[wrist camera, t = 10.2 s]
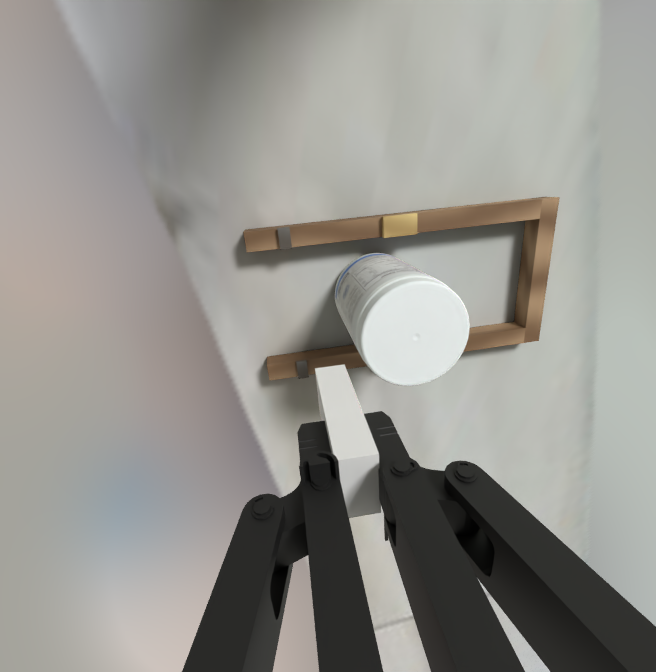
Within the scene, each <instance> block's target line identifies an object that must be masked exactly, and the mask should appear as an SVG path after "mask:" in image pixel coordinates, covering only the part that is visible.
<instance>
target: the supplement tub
mask: <svg viewBox="0 0 656 672" xmlns="http://www.w3.org/2000/svg"><path fill="white" fill-rule="evenodd" d="M335 303H336V307H337V309H338V312H339V314H340V316H341V318H342V320H343V322H344V324H345V326H346V328H347V330H348V332H349V334H350V336H351V338H352V340H353V342H354V344H355V346H356V348H357V350H358V352H359V354H360V355H361V357H362V359H363V361H364V362H365V363H366V364H367V366H368V367H369V368H370V369H371V370H372V371H373V372H374V373H375V374H376V375H377V376H378V377H380V378H381V379H383V380H385V381H387V382H389V383H392V384H395V385H401V386H414V385H420V384H424V383H427V382H430V381H432V380H434V379H436V378H438V377H440V376H441V375H443V374H444V373H446V372H447V371H448V370H449V369H450V368H451V367H452V366H453V365H454V364H455V363H456V362H457V360H458V359H459V358H460V356H461V355H462V353H463V351H464V349H465V346H466V344H467V340H468V337H469V328H470V325H469V316H468V312H467V310H466V307H465V305H464V303H463V302H462V300H461V299H460V297H459V296H458V295H457V294H456V293H455V292H454V291H452V290H451V289H450V288H449V287H448V286H447V285H445V284H444V283H442V282H441V281H439V280H437V279H435V278H434V277H432V276H430V275H428V274H426V273H424V272H422V271H421V270H419V269H417V268H415V267H413V266H411V265H409V264H407V263H405V262H404V261H402V260H400V259H398V258H396V257H394V256H391V255H389V254H384V253H370V254H366V255H363V256H361V257H359V258H357V259H355V260H354V261H352V262H351V263H350V264H349V265H348V266H347V267H346V268H345V269H344V270H343V271H342V273H341V275H340V276H339V279H338V281H337V284H336V288H335Z"/></svg>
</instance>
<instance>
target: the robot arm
mask: <svg viewBox="0 0 656 672" xmlns="http://www.w3.org/2000/svg"><path fill="white" fill-rule="evenodd" d="M315 374H316V383H317V393H318V402H319V411H320V418H321V421H319V422H312V423H306V424H302V425H301V427H300V429H299V431H298V442H299V453H300V466H299V469H300V476H301V482H300V484H299V486H298V487H297V488H296V489H295V490H294V491H293V492H292V493H290V494H288V495H286V496H284V497H282V498H279V497H277V496H276V495H272V494H262V495H259V496H256V497H254V498H252V499H251V500H250V501H249V502H248V503H247V504H246V505H245V507H244V509H243V511H242V513H241V516H240V519H239V522H238V524H237V527H236V529H235V532H234V535H233V537H232V540H231V543H230V546H229V548H228V551H227V553H226V556H225V559H224V561H223V564H222V567H221V569H220V572H219V575H218V577H217V580H216V583H215V585H214V588H213V591H212V594H211V596H210V599H209V602H208V604H207V607H206V609H205V612H204V615H203V617H202V620H201V623H200V625H199V628H198V631H197V633H196V636H195V639H194V641H193V644H192V647H191V649H190V652H189V655H188V657H187V660H186V663H185V665H184V668H183V671H182V672H272V671H273V666H274V660H275V655H276V650H277V645H278V639H279V634H280V629H281V624H282V619H283V613H284V608H285V604H286V598H287V593H288V588H289V583H290V578H291V572H292V567H293V563H294V562H296V561H298V560H299V559H301V558H303V557H305V556H307V555H308V556H309V567H310V577H311V588H312V598H313V609H314V620H315V631H316V641H317V652H318V662H319V672H383V669H382V664H381V660H380V655H379V651H378V646H377V642H376V637H375V633H374V629H373V624H372V620H371V615H370V611H369V606H368V602H367V597H366V593H365V588H364V584H363V580H362V575H361V571H360V566H359V562H358V557H357V553H356V548H355V544H354V540H353V535H352V531H351V526H350V522H349V518H352V517H358V516H363V515H369V514H375V513H380V512H381V506H382V509H383V512H384V531H385V541H387V540H388V537H389V541H390V544H391V547H392V550H393V553H394V556H395V559H396V563H397V566H398V569H399V572H400V575H401V578H402V581H403V585H404V588H405V591H406V594H407V597H408V600H409V603H410V606H411V610H412V613H413V616H414V619H415V622H416V625H417V628H418V632H419V635H420V638H421V641H422V644H423V647H424V650H425V654H426V657H427V660H428V663H429V666H430V669H431V672H525V671H524V669H523V667H522V665H521V663H520V661H519V659H518V657H517V655H516V653H515V651H514V649H513V647H512V645H511V643H510V641H509V639H508V638H507V636H506V634H505V632H504V630H503V628H502V626H501V624H500V622H499V620H498V618H497V616H496V614H495V612H494V610H493V608H492V606H491V604H490V602H489V600H488V598H487V596H486V594H485V592H484V590H483V589H482V587H481V585H480V583H479V581H480V582H481V583H482V584H483V586H484V587H485V588H486V590H487V591H488V592H489V593H490V595H491V596H492V597H493V599H494V600H495V601H496V602H497V604H498V605H499V606H500V607H501V609H502V610H503V611H504V613H505V614H506V615H507V616H508V618H509V619H510V620H511V622H512V623H513V624H514V625H515V627H516V628H517V629H518V631H519V632H520V633H521V634H522V636H523V637H524V638H525V640H526V641H527V642H528V643H529V645H530V646H531V647H532V648H533V650H534V651H535V652H536V654H537V655H538V656H539V657H540V659H541V660H542V661H543V663H544V664H545V665H546V666H547V668H548V669H549V670H550V672H656V627H655V626H654V625H653V624H652V623H651V622H650V621H649V620H648V619H647V618H646V617H644V616H643V615H642V614H641V613H640V612H639V611H638V610H637V609H636V608H634V607H633V606H632V605H631V604H630V603H629V602H628V601H627V600H625V598H623V597H622V596H621V595H620V594H619V593H618V592H617V591H616V590H615V589H614V588H612V587H611V586H610V585H609V584H608V583H607V582H606V581H605V580H603V579H602V578H601V577H600V576H599V575H598V574H597V573H596V572H595V571H594V570H592V569H591V568H590V567H589V566H588V565H587V564H586V563H585V562H584V561H583V560H582V559H580V558H579V557H578V556H577V555H576V554H575V553H574V552H573V551H572V550H571V549H569V548H568V547H567V546H566V545H565V544H564V543H563V542H562V541H561V540H559V539H558V538H557V537H556V536H555V535H554V534H553V533H552V532H551V531H550V530H548V529H547V528H546V527H545V526H544V525H543V524H542V523H541V522H540V521H539V520H537V519H536V518H535V517H534V516H533V515H532V514H531V513H530V512H529V511H528V510H526V509H525V508H524V507H523V506H522V505H521V504H520V503H519V502H518V501H516V500H515V499H514V498H513V497H512V496H511V495H510V494H509V493H508V492H507V491H505V490H504V489H503V488H502V487H501V486H500V485H499V484H498V483H497V482H496V481H494V480H493V479H492V478H491V477H490V476H489V475H488V474H487V473H486V472H485V471H483V470H482V469H481V468H480V467H478V466H477V465H475V464H473V463H470V462H467V461H455V462H452V463H450V464H449V465H447V467H446V469H445V471H438V470H430V469H425V468H423V467H420V465H419V464H418V463H417V462H416V461H415V460H413V459H411V458H410V457H409V455H408V453H407V451H406V449H405V447H404V445H403V443H402V441H401V439H400V437H399V435H398V434H397V431H396V429H395V427H394V425H393V422H392V420H391V418H390V417H389V416H387V415H386V414H385V413H384V412H382V411H380V412H374V413H367V414H363V411H362V408H361V406H360V403H359V401H358V398H357V395H356V393H355V390H354V388H353V385H352V382H351V380H350V377H349V375H348V372H347V370H346V367H345V364H344V365H336V366H329V367H322V368H315ZM477 578H478V579H479V581H478V579H477Z"/></svg>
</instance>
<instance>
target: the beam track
mask: <svg viewBox="0 0 656 672" xmlns="http://www.w3.org/2000/svg"><path fill="white" fill-rule="evenodd" d="M558 204H559V197H540V198H531V199H522V200H512V201H503V202H494V203H485V204H476V205H467V206H458V207H448V208H439V209H430V210H421V211H412V212H403V213H394V214H385V215H375V216H366V217H357V218H348V219H339V220H330V221H321V222H311V223H302V224H293V225H284V226H275V227H266V228H257V229H248V230H245V231H244V232H243V233H244V239H245V245H246V250H247V252H255V251H264V250H272V249H280V250H283V249H292V247H298V246H307V245H316V244H324V243H333V242H342V241H350V240H359V239H368V238H376V237H383V238H388V237H397V236H406V235H414V234H417V233H420V232H429V231H437V230H446V229H455V228H463V227H472V226H481V225H489V224H498V223H507V222H515V221H524V220H525V228H524V237H523V246H522V255H521V263H520V272H519V281H518V290H517V298H516V307H515V316H514V322H508V323H501V324H494V325H487V326H480V327H473V328H469V337H468V340H467V344H466V346H465V349H464V351H463V352H465V351H472V350H479V349H486V348H492V347H499V346H506V345H513V344H519V343H526V342H533V341H539V334H540V327H541V321H542V314H543V307H544V300H545V293H546V286H547V279H548V272H549V266H550V259H551V252H552V245H553V238H554V231H555V224H556V217H557V211H558ZM344 364H345V367H346V369H351V368H358V367H364V366H367V364H366V363H365V362H364V361H363V359H362V357H361V355H360V354H359V352H358V350H357V348H356V346H355V344H353V345H346V346H339V347H332V348H325V349H318V350H311V351H304V352H297V353H290V354H283V355H276V356H269V357H267V369H268V374H269V380H277V379H284V378H290V377H297V376H298V378H299V379H300V378H307V377H309V376H308V375H311V374H315V368H322V367H329V366H336V365H344Z"/></svg>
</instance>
